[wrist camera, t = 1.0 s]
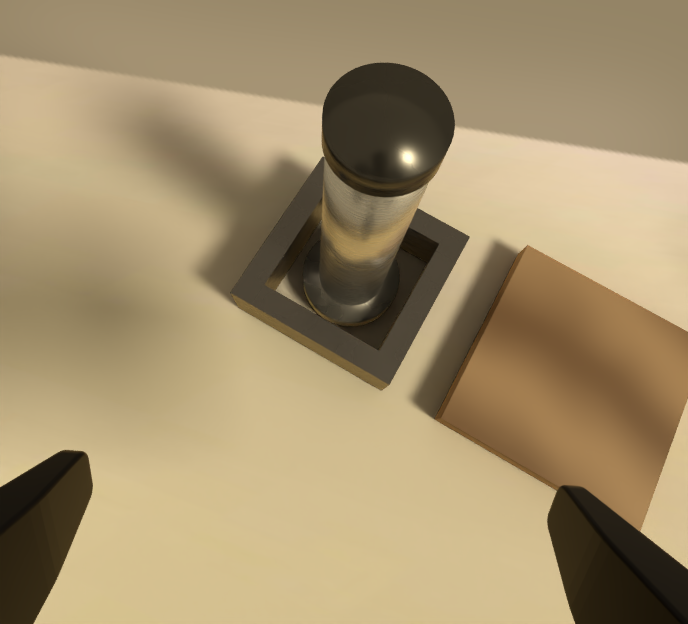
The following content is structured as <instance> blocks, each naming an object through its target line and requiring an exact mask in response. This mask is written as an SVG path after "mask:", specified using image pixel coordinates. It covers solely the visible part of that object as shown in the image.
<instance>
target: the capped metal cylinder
mask: <svg viewBox="0 0 688 624" xmlns="http://www.w3.org/2000/svg"><path fill="white" fill-rule="evenodd" d="M454 129H455V120H454V113H453V110H452V107H451V104H450V102H449V100H448V98H447V96H446V95H445V93H444V92H443V90H442V89H441V88H440V87H439V86H438V85H437V84H436V83H435V82H434V81H433V80H432V79H430V78H429V77H428V76H426V75H425V74H423V73H421V72H420V71H418V70H415V69H413V68H411V67H408V66H405V65H400V64H394V63H373V64H368V65H364V66H360V67H358V68H355V69H353V70H351V71H350V72H348V73H346V74H345V75H343V76H342V77H341V78H340V79H339V80H338V81H337V82H336V83H335V84H334V85H333V86H332V87H331V89H330V91H329V93H328V94H327V97H326V99H325V102H324V106H323V114H322V149H323V153H324V178H323V200H322V222H321V240H320V241H318V242H317V243H316V244H315V245H314V246H313V247H312V249H311V250H310V252H309V253H308V255H307V257H306V260H305V263H304V267H303V286H304V291H305V295H306V298H307V300H308V302H309V303H310V305H311V306H312V308H313V309H314V310H315V311H316V312H317V313H318V314H319V315H320V316H321V317H323V318H324V319H326V320H328V321H330V322H332V323H334V324H337V325H342V326H359V325H364V324H367V323H370V322H372V321H374V320H375V319H377V318H378V317H380V316H381V315H382V314H383V313H384V312H385V311H386V310H387V309H388V307H389V306H390V304H391V302H392V301H393V299H394V297H395V295H396V293H397V289H398V285H399V269H398V264H397V262H396V259H395V256H396V254H397V251H398V249H399V247H400V245H401V243H402V240H403V238H404V236H405V234H406V232H407V229H408V227H409V225H410V223H411V221H412V218H413V216H414V214H415V212H416V210H417V207H418V205H419V203H420V201H421V199H422V196H423V194H424V192H425V190H426V188H427V185H428V183H429V181H430V180H431V179H432V178H433V177H434V176H435V174H436V173H437V171H438V170H439V167H440V165H441V163H442V161H443V159H444V157H445V155H446V153H447V151H448V148H449V146H450V144H451V142H452V139H453V135H454Z"/></svg>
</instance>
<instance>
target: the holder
mask: <svg viewBox="0 0 688 624" xmlns="http://www.w3.org/2000/svg"><path fill="white" fill-rule="evenodd" d="M323 178H324V157H322V158H321V160H320V161H319V163H318V164H317V166H316V167H315V169H314V170H313V172H312V173H311V174H310V176H309V177H308V179H307V180H306V182H305V183H304V185H303V186H302V188H301V189H300V191H299V192H298V194H297V195H296V197H295V198H294V200H293V201H292V202H291V204H290V205H289V207H288V208H287V210H286V211H285V213H284V214H283V216H282V217H281V219H280V220H279V222H278V223H277V225H276V226H275V227H274V229H273V230H272V232H271V233H270V235H269V236H268V238H267V239H266V241H265V242H264V244H263V245H262V247H261V248H260V250H259V251H258V253H257V254H256V255H255V257H254V258H253V260H252V261H251V263H250V264H249V266H248V267H247V269H246V270H245V272H244V273H243V275H242V276H241V278H240V279H239V280H238V282H237V283H236V285H235V286H234V288H233V289H232V291H231V292H230V293H231V295H232V297H233V299H234V300H235V302H236V304H237V306H238V308H240V309H242V310H244V311H245V312H247V313H249V314H251V315H252V316H254V317H256V318H257V319H259V320H261V321H263V322H264V323H266V324H268V325H269V326H271V327H273V328H275V329H276V330H278V331H280V332H281V333H283V334H285V335H287V336H288V337H290V338H292V339H293V340H295V341H297V342H299V343H300V344H302V345H304V346H306V347H307V348H309V349H311V350H312V351H314V352H316V353H318V354H319V355H321V356H323V357H324V358H326V359H328V360H330V361H331V362H333V363H335V364H336V365H338V366H340V367H342V368H343V369H345V370H347V371H348V372H350V373H352V374H354V375H355V376H357V377H359V378H361V379H362V380H364V381H366V382H367V383H369V384H371V385H373V386H374V387H376V388H378V389H379V390H383V389H384V388H386V387H387V386H388V385H390V383H391V381H392V379H393V377H394V375H395V374H396V372H397V370H398V368H399V366H400V364H401V362H402V361H403V359H404V357H405V355H406V353H407V351H408V350H409V348H410V346H411V344H412V342H413V340H414V339H415V337H416V335H417V333H418V331H419V329H420V328H421V326H422V324H423V322H424V320H425V318H426V317H427V315H428V313H429V311H430V309H431V307H432V305H433V304H434V302H435V300H436V298H437V296H438V294H439V293H440V291H441V289H442V287H443V285H444V283H445V282H446V280H447V278H448V276H449V274H450V272H451V271H452V269H453V267H454V265H455V263H456V261H457V260H458V258H459V256H460V254H461V252H462V250H463V248H464V247H465V245H466V243H467V241H468V239H469V236H468V235H466V234H464V233H462V232H460V231H458V230H457V229H455V228H453V227H451V226H449V225H447V224H446V223H444V222H442V221H440V220H438V219H436V218H435V217H433V216H431V215H429V214H427V213H425V212H424V211H422V210H420V209H418V208H417V210H416V212H415V214H414V216H413V218H412V221H411V223H410V225H409V227H408V229H407V232H406V234H405V236H404V238H403V240H402V243H401V245H400V248H402V249H404V250H406V251H407V252H409V253H411V254H413V255H415V256H416V257H418V258H420V259H422V260H424V261H425V262H427V264H426V266H425V268H424V269H423V271H422V273H421V275H420V277H419V278H418V280H417V282H416V284H415V285H414V287H413V289H412V291H411V293H410V294H409V296H408V298H407V300H406V301H405V303H404V305H403V307H402V309H401V310H400V312H399V314H398V316H397V317H396V319H395V321H394V323H393V325H392V326H391V328H390V330H389V332H388V333H387V335H386V337H385V339H384V341H383V342H382V344H381V346H380V348H379V349H378V350H377V349H375V348H373V347H372V346H370V345H368V344H367V343H365V342H363V341H361V340H360V339H358V338H356V337H354V336H353V335H351V334H349V333H347V332H346V331H344V330H342V329H340V328H339V327H337V326H335V325H333V324H332V323H330V322H328V321H327V320H325V319H323V318H321V317H320V316H318V315H316V314H314V313H313V312H311V311H309V310H307V309H306V308H304V307H302V306H300V305H299V304H297V303H295V302H293V301H292V300H290V299H288V298H287V297H285V296H283V295H281V294H280V293H278V292H276V291H275V290H276V289H277V287H278V286H279V284H280V283H281V281H282V279H283V278H284V276H285V275H286V273H287V272H288V270H289V269H290V267H291V266H292V264H293V263H294V261H295V259H296V258H297V256H298V255H299V253H300V252H301V250H302V249H303V247H304V246H305V244H306V243H307V241H308V240H309V238H310V236H311V235H312V233H313V232H314V230H315V229H316V227H317V226H318V224H319V223H320V221H321V220H322V200H323Z"/></svg>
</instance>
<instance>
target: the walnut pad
mask: <svg viewBox="0 0 688 624" xmlns="http://www.w3.org/2000/svg"><path fill="white" fill-rule="evenodd" d="M687 399H688V332H687V331H685V330H683V329H681V328H680V327H678V326H676V325H674V324H672V323H670V322H669V321H667V320H665V319H663V318H661V317H659V316H658V315H656V314H654V313H652V312H650V311H648V310H646V309H645V308H643V307H641V306H639V305H637V304H635V303H634V302H632V301H630V300H628V299H626V298H624V297H622V296H621V295H619V294H617V293H615V292H613V291H611V290H610V289H608V288H606V287H604V286H602V285H600V284H598V283H597V282H595V281H593V280H591V279H589V278H587V277H586V276H584V275H582V274H580V273H578V272H576V271H575V270H573V269H571V268H569V267H567V266H565V265H563V264H562V263H560V262H558V261H556V260H554V259H552V258H551V257H549V256H547V255H545V254H543V253H541V252H539V251H538V250H536V249H534V248H532V247H530V246H528V245H527V246H526V247H525V248H524V249H523V250H522V251H521V252H520V253H519V254H518V255H517V257H516V259H515V261H514V263H513V265H512V267H511V269H510V271H509V273H508V275H507V277H506V279H505V281H504V283H503V285H502V287H501V289H500V291H499V293H498V295H497V297H496V299H495V301H494V303H493V305H492V307H491V309H490V311H489V313H488V315H487V317H486V319H485V320H484V322H483V324H482V326H481V328H480V330H479V332H478V334H477V336H476V338H475V340H474V342H473V344H472V346H471V348H470V350H469V352H468V354H467V356H466V358H465V360H464V362H463V364H462V366H461V368H460V370H459V372H458V374H457V376H456V378H455V380H454V382H453V384H452V386H451V388H450V390H449V392H448V394H447V396H446V398H445V400H444V402H443V404H442V406H441V408H440V410H439V411H438V413H437V415H436V417H435V420H437V421H438V422H440V423H442V424H444V425H445V426H447V427H449V428H451V429H452V430H454V431H456V432H457V433H459V434H461V435H463V436H464V437H466V438H468V439H469V440H471V441H473V442H475V443H476V444H478V445H480V446H481V447H483V448H485V449H487V450H488V451H490V452H492V453H494V454H495V455H497V456H499V457H500V458H502V459H504V460H506V461H507V462H509V463H511V464H512V465H514V466H516V467H518V468H519V469H521V470H523V471H524V472H526V473H528V474H530V475H531V476H533V477H535V478H537V479H538V480H540V481H542V482H543V483H545V484H547V485H549V486H550V487H552V488H554V489H555V490H558V488H559V487H560V486H562V485H573V486H581V487H584V488H585V489H587V490H588V491H589V492H591V493H592V494H593V495H594V496H596V497H597V498H598V499H599V500H601V501H602V502H603V503H604V504H606V505H607V506H608V507H610V508H611V509H612V510H613V511H615V512H616V513H617V514H618V515H620V516H621V517H622V518H623V519H625V520H626V521H627V522H628V523H630V524H631V525H632V526H634V527H635V528H636V529H637V530H639V531H640V530H641V527H642V525H643V522H644V519H645V516H646V513H647V511H648V508H649V505H650V502H651V499H652V497H653V494H654V491H655V488H656V486H657V483H658V480H659V477H660V474H661V472H662V469H663V466H664V463H665V460H666V458H667V455H668V452H669V449H670V446H671V444H672V441H673V438H674V435H675V433H676V430H677V427H678V424H679V421H680V419H681V416H682V413H683V410H684V407H685V405H686V402H687Z"/></svg>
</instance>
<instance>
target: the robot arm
mask: <svg viewBox="0 0 688 624" xmlns="http://www.w3.org/2000/svg"><path fill="white" fill-rule="evenodd" d="M92 490H93V482H92V476H91V470H90V464H89V458H88V455H87V454H86V453H85V452H83V451H73V450H63V451H60V452H58V453H56V454H55V455H53V456H51V457H50V458H48V459H46V460H45V461H43V462H41V463H40V464H38V465H36V466H35V467H33V468H31V469H30V470H28V471H26V472H25V473H23V474H22V475H20V476H18V477H17V478H15V479H13V480H12V481H10V482H8V483H7V484H5V485H3V486H2V487H0V624H33V623H34V621H35V620H36V618H37V616H38V614H39V612H40V610H41V608H42V606H43V605H44V603H45V601H46V599H47V597H48V595H49V593H50V591H51V589H52V587H53V585H54V584H55V582H56V580H57V577H58V575H59V573H60V571H61V568H62V566H63V564H64V561H65V559H66V556H67V554H68V552H69V549H70V547H71V544H72V542H73V539H74V537H75V534H76V532H77V530H78V527H79V525H80V522H81V520H82V517H83V515H84V513H85V510H86V508H87V505H88V503H89V500H90V498H91V495H92ZM547 523H548V529H549V533H550V537H551V541H552V544H553V548H554V552H555V556H556V559H557V563H558V567H559V571H560V574H561V578H562V582H563V586H564V589H565V593H566V597H567V600H568V604H569V607H570V610H571V613H572V616H573V619H574V621H575V624H688V569H687V568H685V567H684V566H683V565H682V564H680V563H679V562H678V561H677V560H675V559H674V558H673V557H671V556H670V555H669V554H668V553H666V552H665V551H664V550H663V549H661V548H660V547H659V546H658V545H656V544H655V543H654V542H653V541H651V540H650V539H649V538H647V537H646V536H645V535H644V534H642V533H641V532H640V531H639V530H637V529H636V528H635V527H634V526H632V525H631V524H630V523H628V522H627V521H626V520H625V519H623V518H622V517H621V516H620V515H618V514H617V513H616V512H615V511H613V510H612V509H611V508H610V507H608V506H607V505H606V504H604V503H603V502H602V501H601V500H599V499H598V498H597V497H596V496H594V495H593V494H592V493H591V492H589V491H588V490H587V489H585V488H584V487H581V486H573V485H562V486H560V487H559V488H558V490H557V492H556V495H555V498H554V500H553V503H552V505H551V508H550V511H549V513H548V519H547Z"/></svg>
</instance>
